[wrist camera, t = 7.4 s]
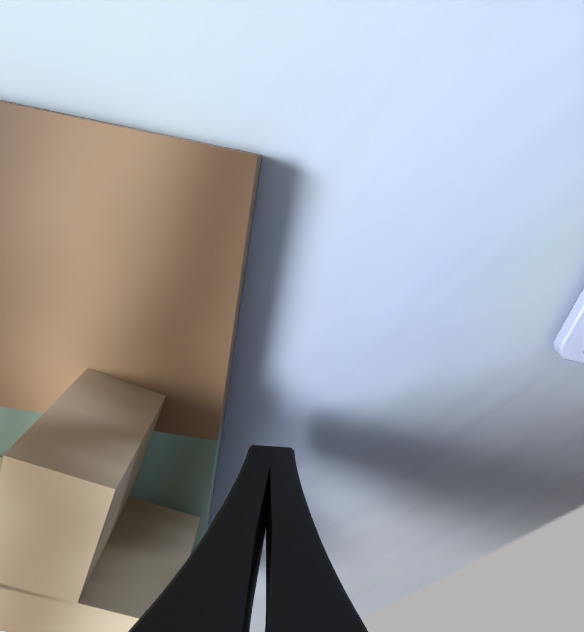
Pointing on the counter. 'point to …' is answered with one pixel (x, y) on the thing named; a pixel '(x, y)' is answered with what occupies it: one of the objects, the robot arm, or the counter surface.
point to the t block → (85, 515)
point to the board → (123, 281)
